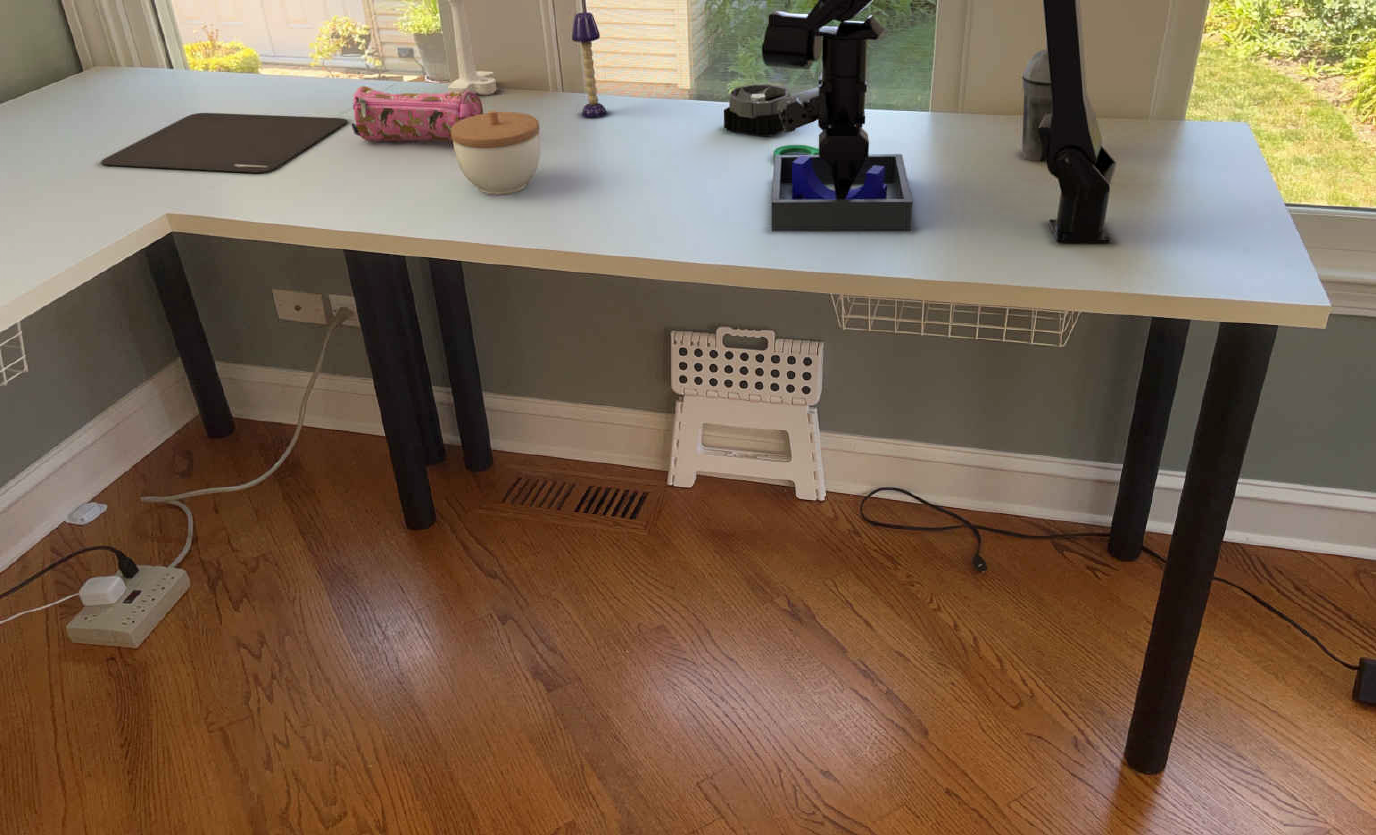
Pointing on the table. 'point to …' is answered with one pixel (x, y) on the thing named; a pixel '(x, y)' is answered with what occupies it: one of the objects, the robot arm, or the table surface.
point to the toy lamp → (588, 60)
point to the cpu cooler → (755, 109)
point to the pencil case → (411, 114)
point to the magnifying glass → (796, 150)
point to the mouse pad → (226, 142)
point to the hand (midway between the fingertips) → (839, 187)
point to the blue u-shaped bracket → (812, 189)
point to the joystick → (467, 57)
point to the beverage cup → (1035, 103)
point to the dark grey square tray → (842, 200)
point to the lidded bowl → (497, 150)
